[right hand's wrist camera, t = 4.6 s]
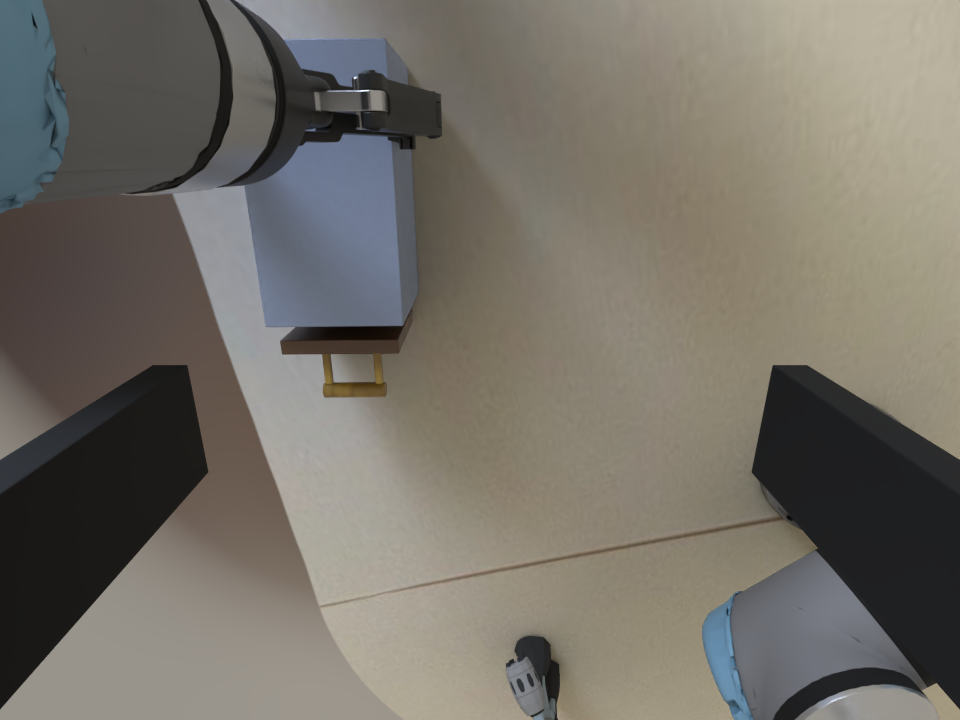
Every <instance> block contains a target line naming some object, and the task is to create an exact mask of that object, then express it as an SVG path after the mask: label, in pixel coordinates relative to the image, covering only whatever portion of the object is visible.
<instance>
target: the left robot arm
mask: <svg viewBox="0 0 960 720" xmlns="http://www.w3.org/2000/svg"><path fill="white" fill-rule="evenodd" d="M315 128H316V130H315V131H305V130H309V129H315ZM343 134H344V135H363V136H383V137H388V140H389V141H393V142H397V143H399V146H400V150H411V149H416V143H415V135H417V136H427V137H429V139H437V137H440V136H442V121H441V94H438V93H435V92H432V91H427V90H424V89H420V88H417V87H413V86H410V85H406V84H403V83H399V82H396V81H392V80H389V79H387V78H386V77H385V76H384V75H383V74H382V73H377V72H376V71H375V70H365V71H362V73H358V77H353V78H352V87H349V86H342V85H339V84H338V82H337V80H336V78H335V77H334V76H333V75H332V74H330V73H325V72H319V71H313V70H307V69H301V67H300V66H299V64H298V62H297V60H296V59H295V57H294V55H293V53H292V52H291V50H290V49H289V47H288V46H287V44H286V43H285V42H284V40H283V39H282V38H281V37H280V35H279V34H278V33H277V32H276V31H275V30H274V29H273V28H272V27H271V26H270V25H269V24H268V23H267V22H265V21H264V20H263V19H262V18H260V17H259V16H258V15H256V14H255V13H253V12H252V11H250V10H249V9H247V8H246V7H244V6H243V5H241V4H239V3H238V2H236V1H235V0H0V213H2V212H5V211H7V210H10V209H12V208H20V207H23V205H27V204H36V203H45V202H54V201H62V200H71V199H80V198H89V197H98V196H106V195H115V194H122V195H139V196H151V195H161V194H171V193H181V192H191V191H201V190H210V189H213V188H218V187H229V186H241V185H248V184H253V183H256V182H259V181H262V180H264V179H267V178H268V177H270V176H272V175H274V174H275V173H276V172H278V171H279V170H280V169H281V168H283V167H284V166H285V165H286V164H287V163H288V161H289V160H290V159H291V158H292V156H293V155H294V153H295V152H296V150H297V148H298V146H303V145H304V144H305V143H306V142H309V143H331V142H339V141H340V140H341V137H342V135H343Z"/></svg>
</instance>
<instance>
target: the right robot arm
mask: <svg viewBox="0 0 960 720" xmlns="http://www.w3.org/2000/svg"><path fill="white" fill-rule="evenodd" d="M207 473H208V468H207V463H206V458H205V453H204V448H203V443H202V438H201V433H200V428H199V422H198V417H197V412H196V407H195V402H194V397H193V392H192V387H191V382H190V377H189V372H188V367H187V365H153V366H151V367H149V368H148V369H146V370H145V371H143V372H141V373H140V374H138V375H137V376H135V377H133V378H132V379H130V380H129V381H127V382H125V383H124V384H122V385H120V386H119V387H117V388H116V389H114V390H112V391H111V392H109V393H108V394H106V395H104V396H103V397H101V398H100V399H98V400H96V401H95V402H93V403H91V404H90V405H88V406H87V407H85V408H83V409H82V410H80V411H78V412H77V413H75V414H74V415H72V416H70V417H69V418H67V419H66V420H64V421H62V422H61V423H59V424H58V425H56V426H54V427H53V428H51V429H49V430H48V431H46V432H45V433H43V434H41V435H40V436H38V437H37V438H35V439H33V440H32V441H30V442H29V443H27V444H25V445H24V446H22V447H20V448H19V449H17V450H16V451H14V452H12V453H11V454H9V455H7V456H6V457H4V458H3V459H1V460H0V709H1V708H2V707H3V705H4V704H5V703H6V702H7V701H8V700H9V699H10V698H11V696H12V695H13V694H14V693H15V692H16V691H17V690H18V688H19V687H20V686H21V685H22V684H23V683H24V682H25V680H26V679H27V678H28V677H29V676H30V675H31V674H32V672H33V671H34V670H35V669H36V668H37V667H38V666H39V664H40V663H41V662H42V661H43V660H44V659H45V658H46V657H47V655H48V654H49V653H50V652H51V651H52V650H53V649H54V647H55V646H56V645H57V644H58V643H59V642H60V641H61V639H62V638H63V637H64V636H65V635H66V634H67V633H68V631H69V630H70V629H71V628H72V627H73V626H74V625H75V623H76V622H77V621H78V620H79V619H80V618H81V617H82V615H83V614H84V613H85V612H86V611H87V610H88V609H89V607H90V606H91V605H92V604H93V603H94V602H95V601H96V600H97V598H98V597H99V596H100V595H101V594H102V593H103V592H104V590H105V589H106V588H107V587H108V586H109V585H110V584H111V582H112V581H113V580H114V579H115V578H116V577H117V576H118V574H119V573H120V572H121V571H122V570H123V569H124V568H125V566H126V565H127V564H128V563H129V562H130V561H131V560H132V559H133V557H134V556H135V555H136V554H137V553H138V552H139V551H140V549H141V548H142V547H143V546H144V545H145V544H146V543H147V541H148V540H149V539H150V538H151V537H152V536H153V535H154V533H155V532H156V531H157V530H158V529H159V528H160V527H161V525H162V524H163V523H164V522H165V521H166V520H167V519H168V518H169V516H170V515H171V514H172V513H173V512H174V511H175V510H176V508H177V507H178V506H179V505H180V504H181V503H182V502H183V500H184V499H185V498H186V497H187V496H188V495H189V494H190V492H191V491H192V490H193V489H194V488H195V487H196V486H197V484H198V483H199V482H200V481H201V480H202V479H203V478H204V476H205V475H206V474H207ZM752 473H753V474H754V475H755V476H756V478H757V479H758V480H759V481H760V484H761V488H762V491H763V493H764V496H765V497H766V499H767V501H768V502H769V503H770V505H771V506H772V507H773V508H774V509H775V510H776V512H777V513H778V514H779V515H780V516H781V517H782V518H784V519H785V520H786V521H788V522H789V523H791V524H792V525H794V526H796V527H797V528H799V529H802V530H803V531H804V532H805V533H806V535H807V536H808V537H809V538H810V539H811V540H812V541H813V543H814V544H815V545H816V546H817V547H818V549H816V550H814V551H813V552H811V553H809V554H807V555H806V556H804V557H802V558H800V559H799V560H797V561H795V562H793V563H792V564H790V565H788V566H786V567H785V568H783V569H781V570H779V571H778V572H776V573H774V574H773V575H771V576H769V577H767V578H766V579H764V580H762V581H760V582H759V583H757V584H755V585H753V586H752V587H750V588H748V589H746V590H745V591H739V592H736V593H734V594H733V596H731V597H730V599H729V600H728V601H727V602H725V603H724V604H722V605H720V606H719V607H717V608H716V609H714V610H713V611H711V612H710V613H709V614H708V616H707V618H706V619H705V622H704V623H703V628H702V638H703V645H704V650H705V653H706V657H707V660H708V663H709V666H710V669H711V672H712V674H713V677H714V679H715V682H716V684H717V687H718V689H719V691H720V693H721V695H722V697H723V699H724V701H725V702H726V703H727V704H728V705H729V707H730V710H731V713H732V716H733V718H734V720H939V716H938V713H937V711H936V709H935V707H934V705H933V704H932V702H931V701H930V700H929V699H928V698H927V697H926V695H925V694H924V693H923V692H922V691H921V690H923V689H925V688H927V687H929V686H931V685H933V684H935V683H937V684H938V685H939V686H940V687H941V688H942V690H943V691H944V692H945V693H946V694H947V695H948V696H949V698H950V699H951V700H952V701H953V702H954V703H955V704H956V706H957V707H958V708H959V709H960V460H959V459H957V458H956V457H954V456H953V455H951V454H949V453H948V452H946V451H944V450H943V449H941V448H940V447H938V446H936V445H935V444H933V443H932V442H930V441H928V440H927V439H925V438H923V437H922V436H920V435H919V434H917V433H915V432H914V431H912V430H911V429H909V428H907V427H906V426H904V425H903V424H901V423H900V422H899V421H898V420H896V419H895V418H894V417H892V416H891V415H889V414H888V413H886V412H884V411H883V410H881V409H879V408H877V407H875V406H873V405H871V404H869V403H867V402H865V401H864V400H862V399H861V398H859V397H857V396H856V395H854V394H852V393H851V392H849V391H848V390H846V389H844V388H843V387H841V386H840V385H838V384H836V383H835V382H833V381H832V380H830V379H828V378H827V377H825V376H823V375H822V374H820V373H819V372H817V371H815V370H814V369H812V368H811V367H809V366H807V365H773V367H772V372H771V377H770V382H769V387H768V392H767V397H766V402H765V407H764V412H763V417H762V422H761V427H760V433H759V438H758V443H757V448H756V453H755V458H754V463H753V468H752Z"/></svg>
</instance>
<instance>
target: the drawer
mask: <svg viewBox="0 0 960 720" xmlns="http://www.w3.org/2000/svg"><path fill="white" fill-rule="evenodd" d="M412 321H413V316H412V310H410V312H409V314H408V316H407V318H406V320H405V322H404V324H403V326H334V327H295V328H294V329H293V330H292V331H291V332H290V333H289V334H287V335H286V336H285V337H284V338H283V339H282V340H281V341H280V343H281V350H282V354H322V356H323V365H324V374H325V382H326V383H324V386H323V395H324V397H386V394H387V385H386V382H383V370H382V357H381V354H387V353H399V351H400V349H401V347H402V345H403V342H404V340H405V338H406V335H407V333H408V331H409V328H410V326H411V324H412ZM331 354H373V355H374V367H375V380H376V382H342V383H333V382H334V381H333V372H332V363H331Z"/></svg>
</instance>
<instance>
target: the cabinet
mask: <svg viewBox="0 0 960 720" xmlns="http://www.w3.org/2000/svg"><path fill="white" fill-rule="evenodd" d="M284 42H285V43H286V44H287V46H288V47H289V49H290V50H291V52H292V53H293V55H294V57H295V59H296V60H297V62H298V64H299V66H300V67H301V69H307V70H313V71H319V72H325V73H330V74H332V75H333V76H334V77H335V78H336V80H337V82H338V84H339V85H342V86H349V87H352V78H353V77H358V73H362V71H365V70H375V71H376V72H377V73H382V74H383V75H384V76H385V77H386V78H387V79H389V80H392V81H396V82H399V83H403V84H406V85H408V68H407V66H406V65H405V63H404V62H403V61H402V60H401V58H400V57H399V56H398V54H397V53H396V52H395V50H394V49H393V48H392V47H391V45H390V44H389V43H388V41H387V40H386V39H385V38H382V39H293V40H284ZM315 130H316V128H315V129H309V130H305V131H315ZM245 192H246V198H247V205H248V212H249V218H250V225H251V232H252V238H253V245H254V251H255V258H256V265H257V271H258V278H259V285H260V291H261V298H262V304H263V311H264V318H265V324H266V327H334V326H403V324H404V322H405V320H406V318H407V316H408V314H409V312H410V310H411V308H412V306H413V303H414V301H415V299H416V297H417V295H418V293H419V289H418V269H417V249H416V229H415V208H414V188H413V168H412V149H411V150H400V146H399V143H397V142H393V141H389V140H388V137H383V136H363V135H344V134H343V135H342V137H341V140H340V141H339V142H331V143H309V142H306V143H305V144H304V145H303V146H298V148H297V150H296V152H295V153H294V155H293V156H292V158H291V159H290V160H289V161H288V163H287V164H286V165H285V166H284V167H283V168H281V169H280V170H279V171H278V172H276V173H275V174H274V175H272V176H270V177H268V178H267V179H264V180H262V181H259V182H256V183H253V184H248V185H245Z"/></svg>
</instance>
